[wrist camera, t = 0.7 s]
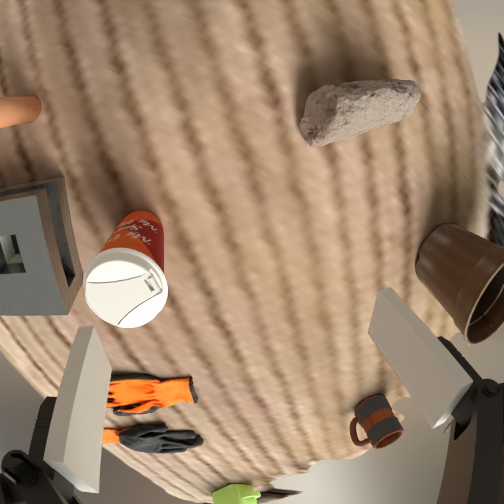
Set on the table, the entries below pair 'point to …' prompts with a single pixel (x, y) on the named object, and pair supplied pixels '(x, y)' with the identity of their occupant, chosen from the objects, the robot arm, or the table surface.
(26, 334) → the table surface
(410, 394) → the robot arm
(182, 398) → the pair of gloves
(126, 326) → the paper cup
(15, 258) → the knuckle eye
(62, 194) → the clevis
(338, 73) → the table surface
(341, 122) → the pumice stone
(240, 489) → the gearbox
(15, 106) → the pin
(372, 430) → the mug
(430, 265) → the plant pot
